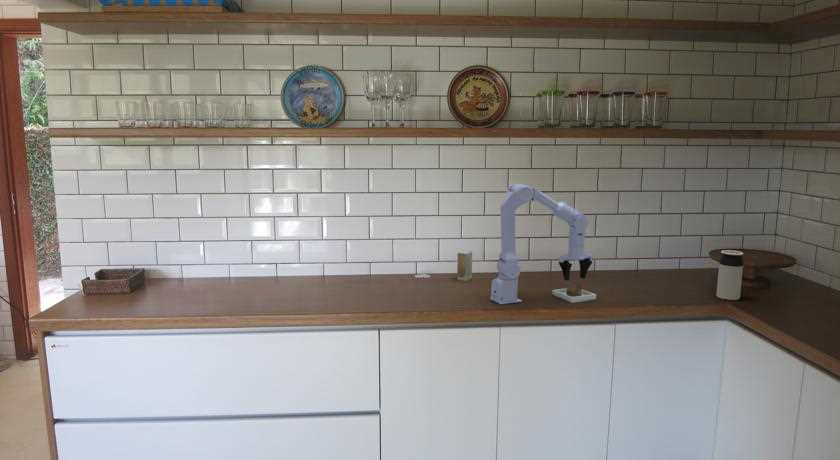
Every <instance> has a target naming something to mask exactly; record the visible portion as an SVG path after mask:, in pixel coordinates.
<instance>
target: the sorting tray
mask: <svg viewBox="0 0 840 460" xmlns="http://www.w3.org/2000/svg"><path fill="white" fill-rule="evenodd" d="M566 292H567V287H566V288H559V289H552V293H551V294H552V295H551V296H553V295H554V297H555V298H558V299H560V298H561V300H563V301H565V300H566V302H568V303H570V304H573V303H581V302H589V301H594V300H595V301H596V300H597V294H596V293H593V292H591V291H588V290H585V289H583V288H582V296H576V297H570V296H568V295H566Z"/></svg>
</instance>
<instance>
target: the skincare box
mask: <svg viewBox="0 0 840 460" xmlns="http://www.w3.org/2000/svg"><path fill="white" fill-rule="evenodd" d="M456 279H457V281H463V282H467V281H469V280H471V279H473V251H472V250H461V251H458V252H457V278H456Z"/></svg>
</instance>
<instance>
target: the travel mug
mask: <svg viewBox="0 0 840 460" xmlns="http://www.w3.org/2000/svg"><path fill="white" fill-rule="evenodd" d="M720 253H721V257H720V258H719V263H718V274H717V284H716V297H718V298H719V299H722V300H725V299H727V300H726V301H738V300H740V298H741V292H742V281H743V280H742V279H743V270H744V262H745V261H744V260H743V256H744V252H742V251H738V250H731V249H726V250H721V252H720Z"/></svg>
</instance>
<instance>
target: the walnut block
mask: <svg viewBox="0 0 840 460" xmlns="http://www.w3.org/2000/svg"><path fill="white" fill-rule="evenodd" d="M566 288H567V292H566V295H568V296H570V297H576V296H582V289H583V284H582V283H580V282H578V281H573V282H572V281H571V282H569V281H568V282H566Z"/></svg>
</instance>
